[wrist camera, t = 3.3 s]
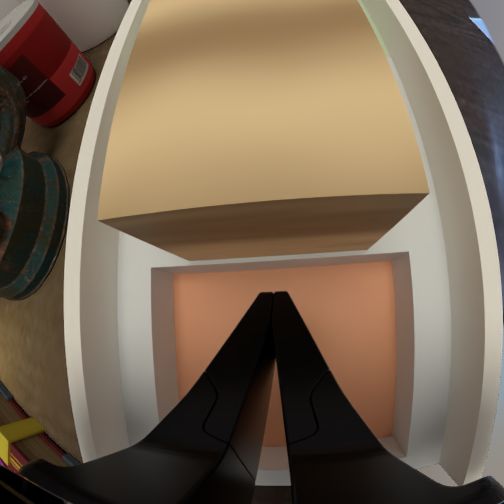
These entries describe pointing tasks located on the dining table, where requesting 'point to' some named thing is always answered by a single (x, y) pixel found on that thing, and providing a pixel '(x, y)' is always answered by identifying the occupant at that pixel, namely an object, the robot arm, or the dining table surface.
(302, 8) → the wooden block
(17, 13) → the canned food
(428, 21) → the dining table surface
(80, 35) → the candle holder
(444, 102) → the tray
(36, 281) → the lantern
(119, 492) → the robot arm
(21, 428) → the decorative book
